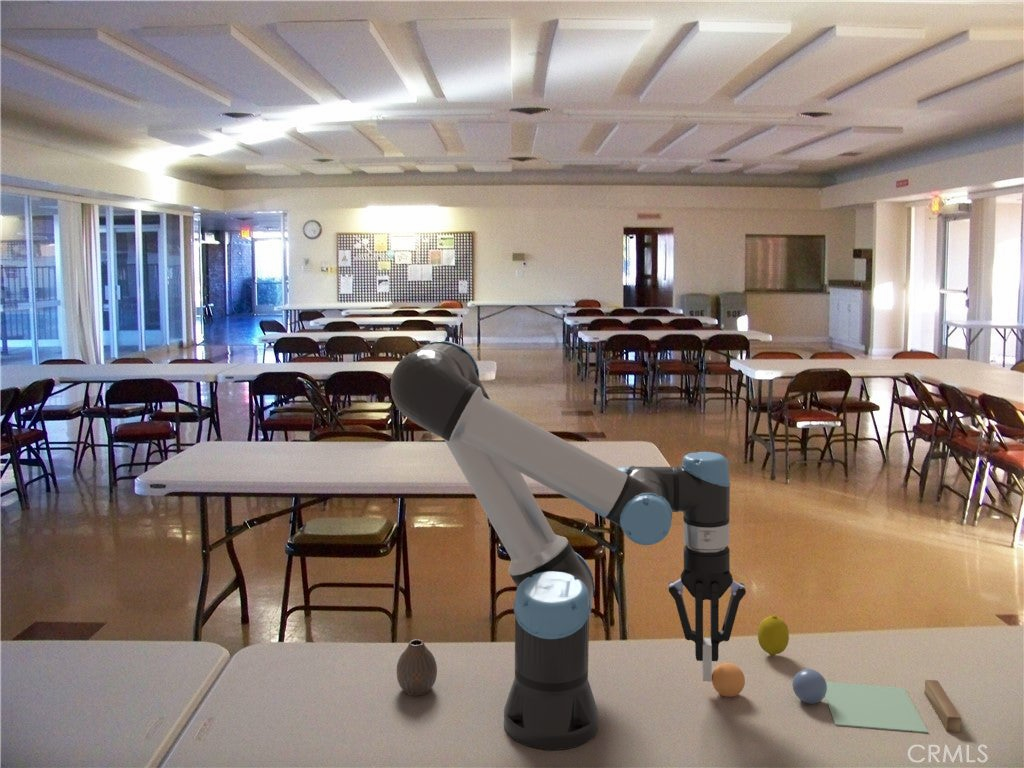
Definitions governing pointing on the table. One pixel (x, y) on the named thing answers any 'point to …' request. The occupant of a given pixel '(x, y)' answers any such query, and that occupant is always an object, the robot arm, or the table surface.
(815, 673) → the ball
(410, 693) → the vase
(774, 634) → the lemon
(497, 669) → the table surface
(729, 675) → the ball
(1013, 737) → the table surface
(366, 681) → the table surface
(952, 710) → the rail
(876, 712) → the mark
